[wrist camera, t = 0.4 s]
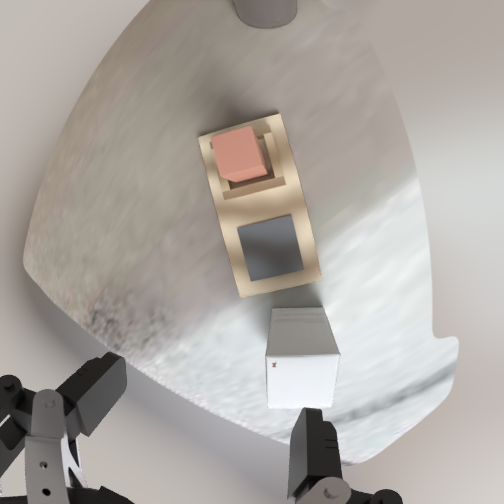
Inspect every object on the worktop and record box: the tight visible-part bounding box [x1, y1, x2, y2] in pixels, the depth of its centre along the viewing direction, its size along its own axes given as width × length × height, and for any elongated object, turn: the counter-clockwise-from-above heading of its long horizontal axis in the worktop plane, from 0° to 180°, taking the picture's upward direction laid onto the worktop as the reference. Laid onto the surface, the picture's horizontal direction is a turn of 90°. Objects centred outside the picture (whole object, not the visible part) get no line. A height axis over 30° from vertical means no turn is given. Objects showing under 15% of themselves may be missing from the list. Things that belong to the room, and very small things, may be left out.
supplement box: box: [265, 307, 341, 408], centre depth 31 cm, size 7×7×13 cm
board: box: [198, 114, 322, 298], centre depth 33 cm, size 22×11×3 cm, turn 14°
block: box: [211, 126, 268, 183], centre depth 28 cm, size 4×4×9 cm
